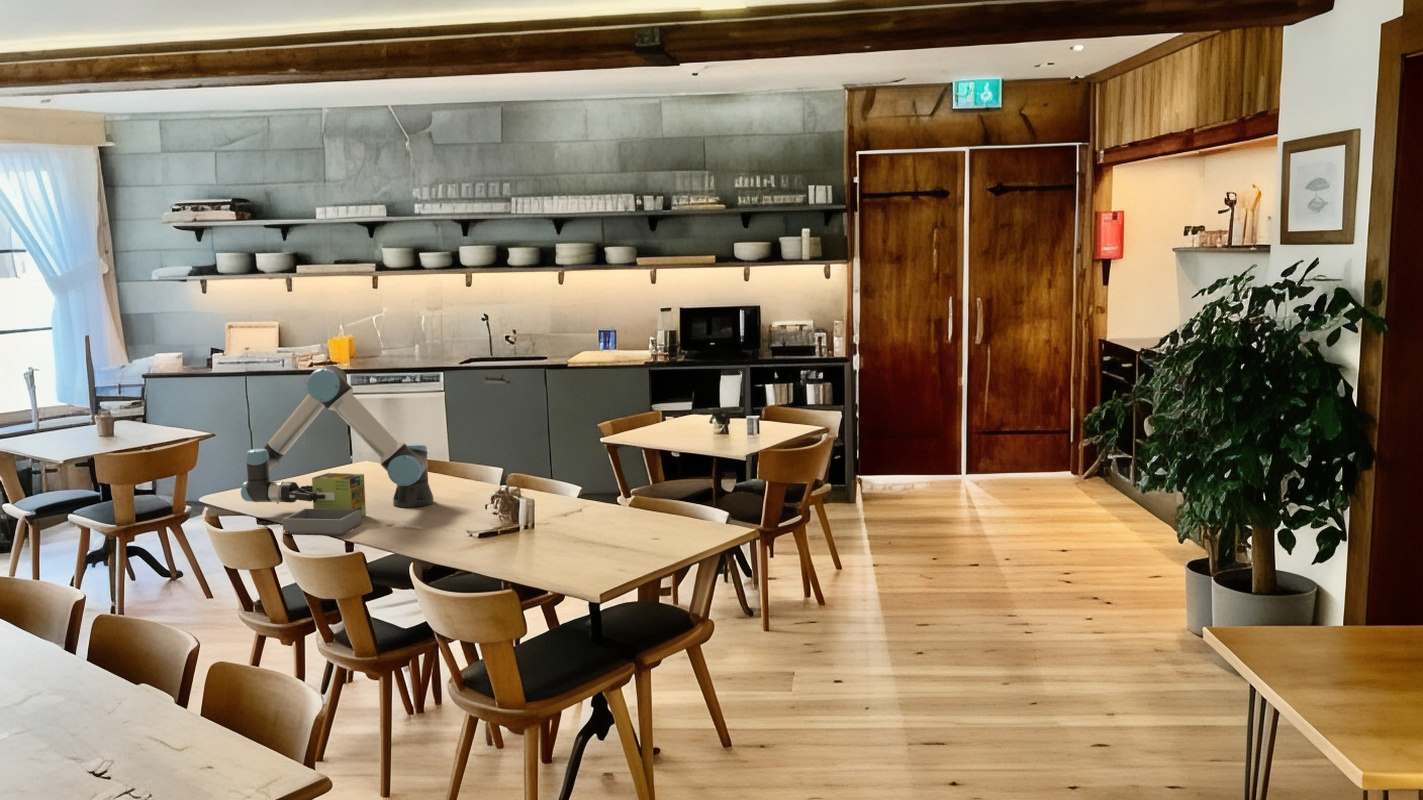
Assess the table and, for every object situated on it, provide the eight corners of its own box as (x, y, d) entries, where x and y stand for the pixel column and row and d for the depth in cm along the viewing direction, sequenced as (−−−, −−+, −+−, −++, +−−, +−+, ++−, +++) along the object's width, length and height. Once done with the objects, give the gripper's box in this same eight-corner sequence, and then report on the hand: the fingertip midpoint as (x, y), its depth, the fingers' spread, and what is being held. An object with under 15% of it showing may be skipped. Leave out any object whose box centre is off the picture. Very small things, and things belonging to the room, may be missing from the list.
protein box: (352, 521, 388) (350, 479, 386) (313, 519, 391) (311, 477, 389) (366, 514, 398) (364, 473, 396) (328, 513, 401) (326, 472, 399)
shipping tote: (361, 524, 384) (361, 509, 383) (341, 535, 368) (341, 520, 367) (305, 523, 386) (304, 508, 385) (283, 534, 370) (282, 519, 369)
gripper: (300, 495, 408) (356, 496, 406) (268, 509, 385) (327, 510, 383) (299, 475, 407) (355, 476, 405) (267, 488, 384) (326, 489, 382)
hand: (341, 493), depth 394 cm, fingers closed on protein box, 11 cm apart
